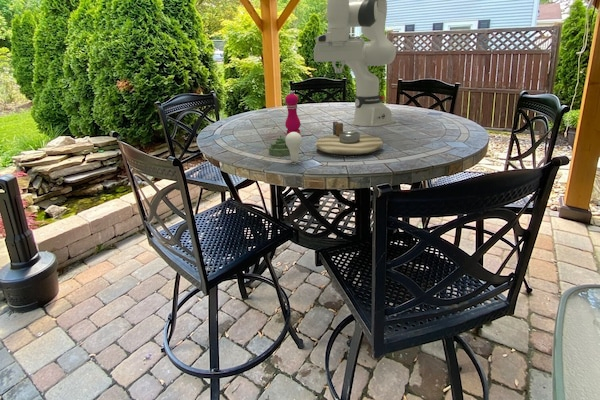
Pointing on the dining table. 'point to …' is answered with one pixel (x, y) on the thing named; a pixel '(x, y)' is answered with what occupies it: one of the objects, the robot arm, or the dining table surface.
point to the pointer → (334, 127)
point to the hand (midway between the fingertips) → (338, 73)
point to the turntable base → (348, 154)
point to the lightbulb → (293, 144)
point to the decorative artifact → (279, 148)
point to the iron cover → (349, 137)
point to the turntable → (334, 146)
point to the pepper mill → (292, 114)
